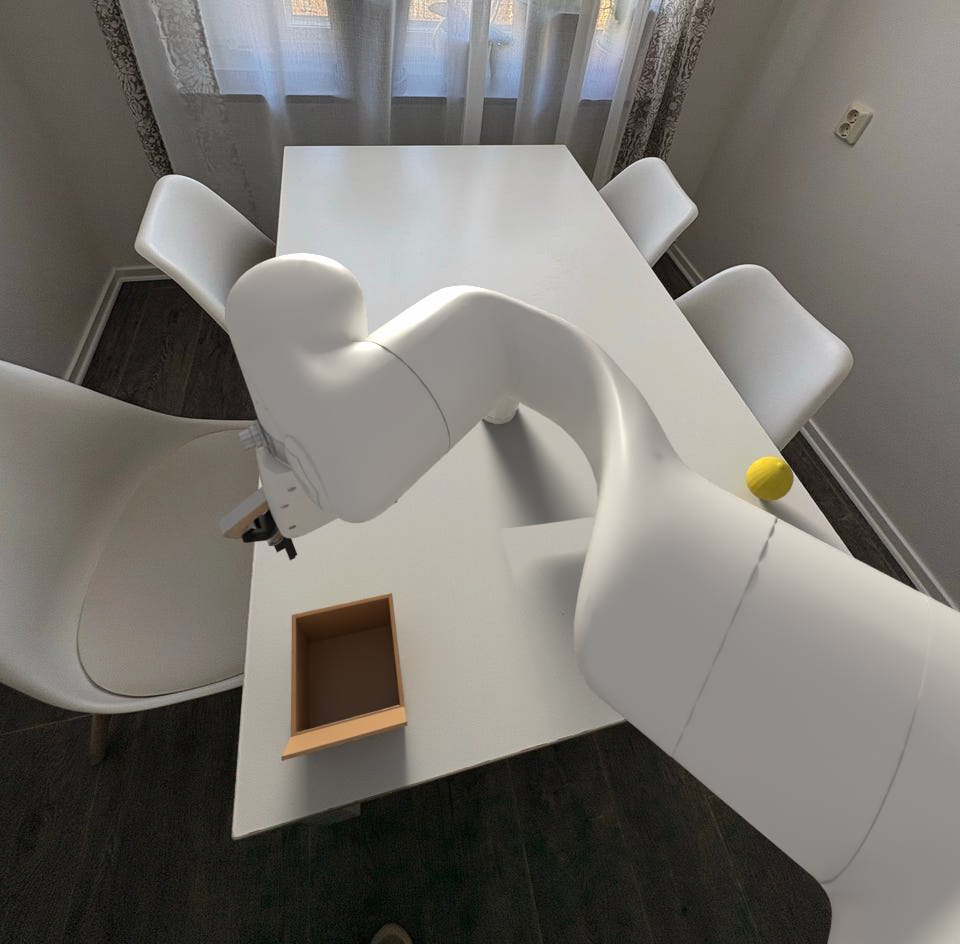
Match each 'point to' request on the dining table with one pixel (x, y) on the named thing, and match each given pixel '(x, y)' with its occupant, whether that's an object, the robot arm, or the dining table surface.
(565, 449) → the dining table surface
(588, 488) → the dining table surface
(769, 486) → the lemon
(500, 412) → the cup
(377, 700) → the open wooden box
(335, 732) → the flap
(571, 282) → the dining table surface
